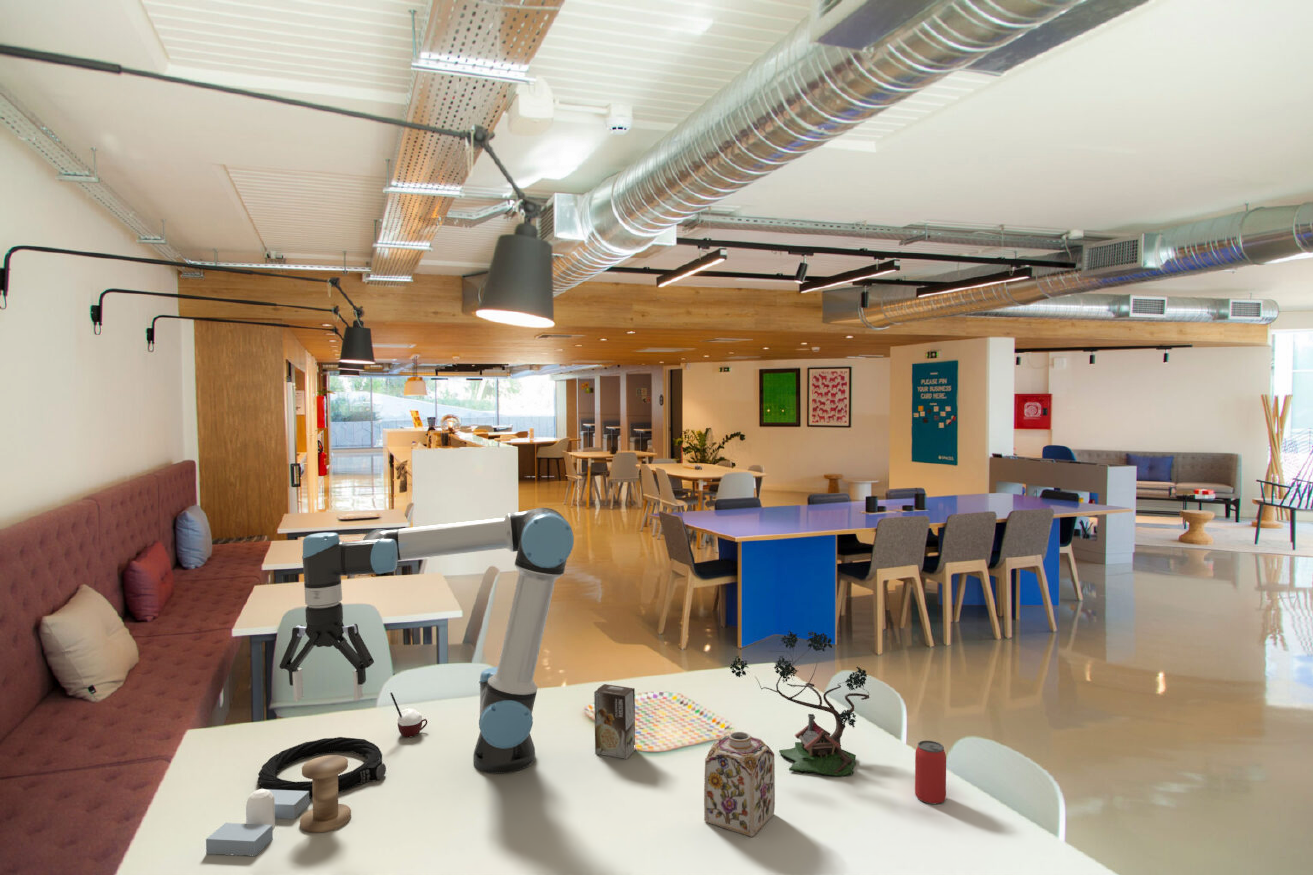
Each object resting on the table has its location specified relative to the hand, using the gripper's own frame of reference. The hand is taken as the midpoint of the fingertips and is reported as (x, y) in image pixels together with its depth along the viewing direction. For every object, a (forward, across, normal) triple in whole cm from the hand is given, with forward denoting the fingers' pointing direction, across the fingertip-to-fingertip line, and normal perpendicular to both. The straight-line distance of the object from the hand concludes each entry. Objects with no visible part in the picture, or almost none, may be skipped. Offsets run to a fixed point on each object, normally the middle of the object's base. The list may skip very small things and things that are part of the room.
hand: (328, 699), depth 169 cm
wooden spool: (+23, +2, -7) cm, 25 cm away
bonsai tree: (+27, +107, +29) cm, 114 cm away
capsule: (+23, -10, -11) cm, 28 cm away
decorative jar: (+27, +90, -1) cm, 94 cm away
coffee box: (+26, +60, +29) cm, 71 cm away
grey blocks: (+23, -10, -11) cm, 27 cm away
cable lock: (+24, -9, +14) cm, 29 cm away
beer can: (+28, +133, +9) cm, 136 cm away
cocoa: (+24, +3, +37) cm, 44 cm away
